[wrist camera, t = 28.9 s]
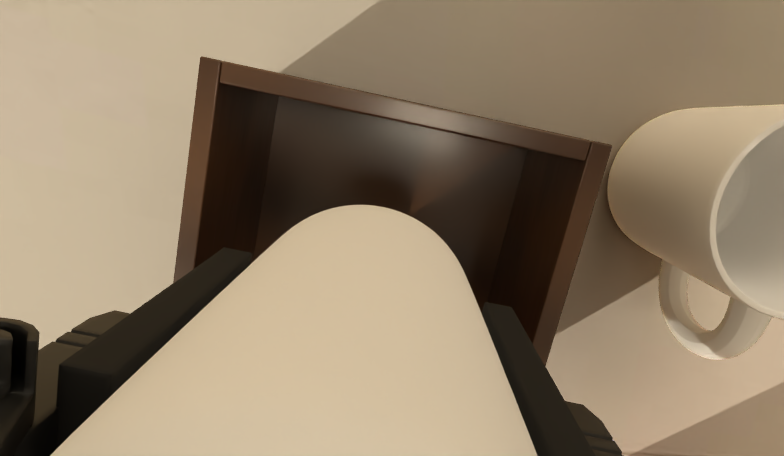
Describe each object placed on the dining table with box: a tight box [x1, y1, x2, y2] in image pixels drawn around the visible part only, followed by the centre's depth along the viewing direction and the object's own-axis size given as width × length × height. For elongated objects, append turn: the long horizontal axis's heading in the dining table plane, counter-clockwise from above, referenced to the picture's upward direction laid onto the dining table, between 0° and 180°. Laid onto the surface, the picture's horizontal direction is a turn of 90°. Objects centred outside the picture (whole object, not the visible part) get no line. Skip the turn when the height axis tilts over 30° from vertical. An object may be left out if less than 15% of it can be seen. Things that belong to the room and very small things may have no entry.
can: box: [50, 205, 537, 456], centre depth 9 cm, size 6×6×12 cm
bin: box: [173, 57, 612, 365], centre depth 25 cm, size 16×16×10 cm
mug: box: [607, 104, 784, 360], centre depth 24 cm, size 12×8×10 cm
